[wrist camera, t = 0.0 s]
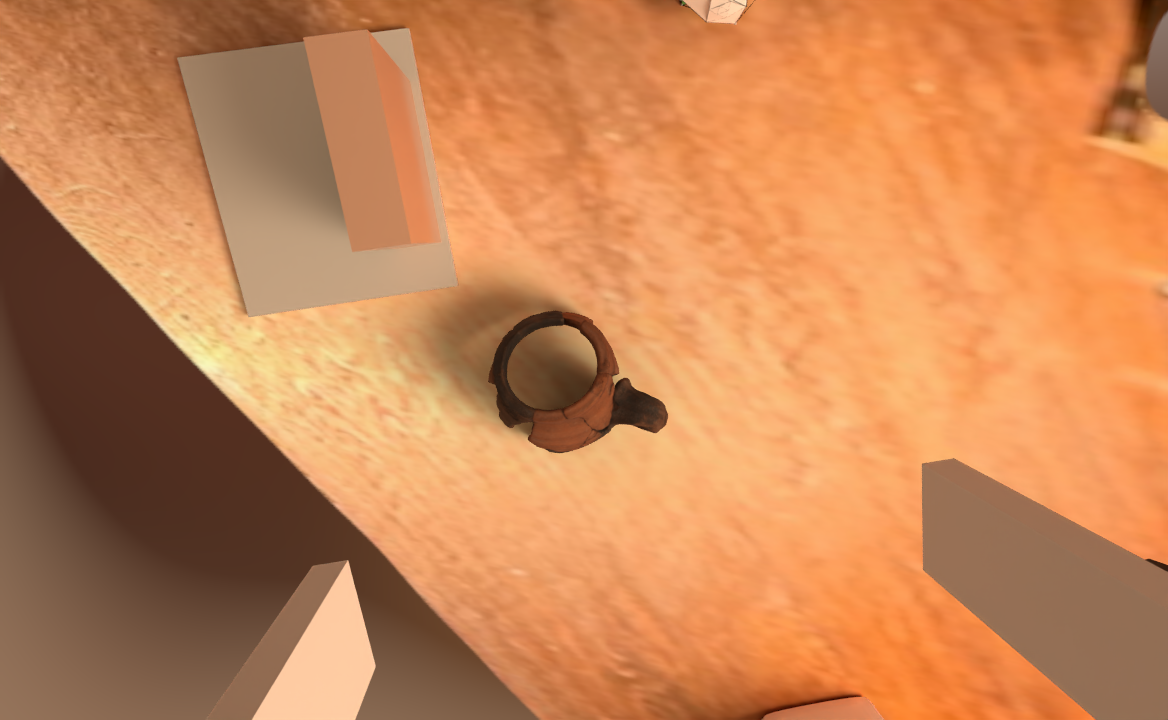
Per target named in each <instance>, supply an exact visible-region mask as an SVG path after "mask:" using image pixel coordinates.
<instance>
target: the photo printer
mask: <svg viewBox="0 0 1168 720" xmlns="http://www.w3.org/2000/svg"><path fill="white" fill-rule="evenodd" d="M762 720H884V719H883V717H882V716H881V715H880V713H879V712H878V711H877V709H876V708H875V707H874V705H873V704H872V703H871V702H870V701H869V699H867V698H866V697H852V698H845V699H838V700H832V701H826V702H820V703H815V704H810V705H804V706H799V707H795V708H790V709H785V710H781V711H777V712H773V713H770V714H767V715H765V716H764V718H763V719H762Z"/></svg>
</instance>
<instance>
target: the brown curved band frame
mask: <svg viewBox="0 0 1168 720" xmlns="http://www.w3.org/2000/svg"><path fill="white" fill-rule="evenodd" d="M562 325H568V326H571V327H574V328H577V329H579V330H580V333H581V334H583V335H584V336H585V337H586V338H587V339H588V340H589V341H590V343H591V344H592V346H593V348H594V350H595V353H596V357H597V375H596V377H595V380H594V382H593V384H592V386H591V388H590V389H589V390H588V392H587V393H586V394H585V395H584V396H583V397H582V398H581V399H580V400H578V401H577V402H575V403H574V404H572V405H570V406H567V407H564V408H562V409H556V410H541V409H534V408H532V407H530V406H528V405H526V404H524V403H523V402H521V401H520V400H519V399H518V398H517V397H516V396H515V394H514V393H513V392H512V390H511V388H510V386H509V383H508V380H507V364H508V360H509V357H510V355H511V353H512V351H513V349H514V348H515V346H516V345H517V344H518V343H519V342H520V341H521V340H522V339H523V338H524V337H526V336H527V335H528V334H530V333H531V332H533V331H535V330H537V329H540V328H544V327H549V326H562ZM617 374H619V368H618V365H617V361H616V358H615V356H614V353H613V350H612V348H611V346H610V345H609V343H608V341H607V340H606V338H605V337H604V335H603V334H602V332H601V331H600V330H599V329H598V328H597V327H596V326H594V325H593V321H592V320H591V319H589V318H588V317H585V316H582V315H579V314H575V313H569V312H565V313H562V312H559V311H548V312H543V313H540V314H536V315H533V316H530V317H528V318H526V319H524V320H522V321H521V322H520V323H518V324H517V325H516V326H515V327H514V328H513V330H511V331H509V332H508V334H507V335H506V336H505V337H504V338H503V340H502V342H501V343H500V345H499V347H498V348H497V351H496V353H495V357H494V362H493V364H492V367H491V370H490V373H489V380H488V382H489V383H492V384H495V385H496V388H497V392H498V394H497V401H496V402H497V407H498V409H499V417H500V419H501V420H502V421H503V422H504V424H505V425H506V426H507V427H509V428H513V427H514V425H517V424H521V423H526V422H534V424H533V427H532V432H531V435H529V437H528V441H530V442H531V443H533V444H534V445H536V446H537V447H540V448H543V449H546V450H548V451H549V452H554V453H564V452H569V451H573V450H576V449H579V448H582V447H584V446H587V445H589V444H591V443H593V442H595V441H596V440H598V439H600V438H601V437H603V436H604V435H605V434H607V433H609V432H610V431H611V428H613V427H614V426H615V425H618V424H627V425H633V426H636V427H638V428H641V429H643V430H646V431H650V432H653V433H657V432H658V431H659V430H660V429H662V428H663V427H664V426H665V425H666V423H667V419H668V413H667V411H666V408H665V405H664V404H663V403H662V402H661V401H660V400H658V399H656V398H654V397H652V396H650V395H648V394H646V393H643V392H640V391H638V390H636V389H635V388H633V387H632V385H631V383H630V380H629V379H628V378H623V379H621V380H619V381H618V382H617V383H616V385H615V388H614V383H613V379H612V376H614V375H617Z"/></svg>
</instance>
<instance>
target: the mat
mask: <svg viewBox="0 0 1168 720" xmlns="http://www.w3.org/2000/svg"><path fill="white" fill-rule="evenodd" d="M371 34H372V36H373V37H374V38H375V39H376V40H377V42H378V43H379V44H380V45H381V46H382V48H383V49H384V50H385V51H386V52H387V54H388V55H389V56H390V57H391V59H392V60H393V61H394V62H395V63H396V65H397V66H398V67H399V68H400V69H401V71H402V72H403V73H404V74H405V75H406V77H407V78H408V79H409V80H410V82H411V87H412V92H413V98H414V103H415V108H416V113H417V118H418V123H419V128H420V134H421V139H422V144H423V149H424V154H425V159H426V165H427V170H428V175H429V180H430V185H431V190H432V196H433V201H434V206H435V211H436V216H437V221H438V227H439V232H440V237H441V243H434V244H427V245H421V246H414V247H407V248H400V249H389V250H374V251H360V252H352V249H351V245H350V240H349V236H348V231H347V227H346V223H345V218H344V214H343V210H342V205H341V201H340V196H339V192H338V188H337V183H336V179H335V175H334V170H333V166H332V162H331V157H330V153H329V148H328V144H327V140H326V135H325V131H324V127H323V122H322V118H321V113H320V109H319V105H318V100H317V96H316V92H315V87H314V83H313V78H312V74H311V70H310V65H309V61H308V57H307V52H306V48H305V44H304V41H303V42H295V43H288V44H280V45H272V46H264V47H256V48H249V49H241V50H233V51H225V52H217V53H210V54H202V55H194V56H186V57H179V58H177V59H178V63H179V66H180V70H181V74H182V77H183V81H184V85H185V88H186V92H187V95H188V99H189V103H190V106H191V110H192V114H193V117H194V121H195V124H196V128H197V132H198V135H199V139H200V143H201V146H202V150H203V153H204V157H205V161H206V164H207V168H208V172H209V175H210V179H211V183H212V186H213V190H214V193H215V197H216V201H217V204H218V208H219V212H220V215H221V219H222V222H223V226H224V230H225V233H226V237H227V241H228V244H229V248H230V251H231V255H232V259H233V262H234V266H235V270H236V273H237V277H238V281H239V284H240V288H241V291H242V295H243V299H244V302H245V306H246V310H247V313H248V317H253V316H260V315H267V314H273V313H280V312H287V311H293V310H300V309H307V308H314V307H320V306H327V305H334V304H341V303H347V302H354V301H361V300H368V299H374V298H381V297H388V296H394V295H401V294H408V293H415V292H421V291H428V290H435V289H442V288H448V287H455V286H458V281H457V275H456V270H455V265H454V260H453V254H452V249H451V244H450V239H449V233H448V228H447V223H446V218H445V212H444V207H443V202H442V197H441V191H440V186H439V181H438V176H437V170H436V165H435V160H434V155H433V149H432V144H431V139H430V134H429V128H428V123H427V118H426V113H425V107H424V102H423V97H422V92H421V86H420V81H419V76H418V71H417V65H416V60H415V55H414V50H413V44H412V39H411V34H410V30H409V28H404V29H396V30H389V31H381V32H373V33H371Z"/></svg>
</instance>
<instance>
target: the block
mask: <svg viewBox="0 0 1168 720" xmlns="http://www.w3.org/2000/svg"><path fill="white" fill-rule="evenodd" d="M303 39H304V44H305V48H306V52H307V57H308V61H309V65H310V70H311V74H312V78H313V83H314V87H315V92H316V96H317V100H318V105H319V109H320V113H321V118H322V122H323V127H324V131H325V135H326V140H327V144H328V148H329V153H330V157H331V162H332V166H333V170H334V175H335V179H336V183H337V188H338V192H339V196H340V201H341V205H342V210H343V214H344V218H345V223H346V227H347V231H348V236H349V240H350V245H351V249H352V252H360V251H374V250H389V249H400V248H407V247H414V246H421V245H427V244H434V243H441V237H440V232H439V227H438V221H437V216H436V211H435V206H434V201H433V196H432V190H431V185H430V180H429V175H428V170H427V165H426V159H425V154H424V149H423V144H422V139H421V134H420V128H419V123H418V118H417V113H416V108H415V103H414V98H413V92H412V87H411V82H410V80H409V79H408V78H407V77H406V75H405V74H404V73H403V72H402V71H401V69H400V68H399V67H398V66H397V65H396V63H395V62H394V61H393V60H392V59H391V57H390V56H389V55H388V54H387V52H386V51H385V50H384V49H383V48H382V46H381V45H380V44H379V43H378V42H377V40H376V39H375V38H374V37H373V36H372V34H371V33H370V32H369V31H368V30H367V29H365V30H357V31H349V32H341V33H334V34H326V35H318V36H310V37H303Z"/></svg>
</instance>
